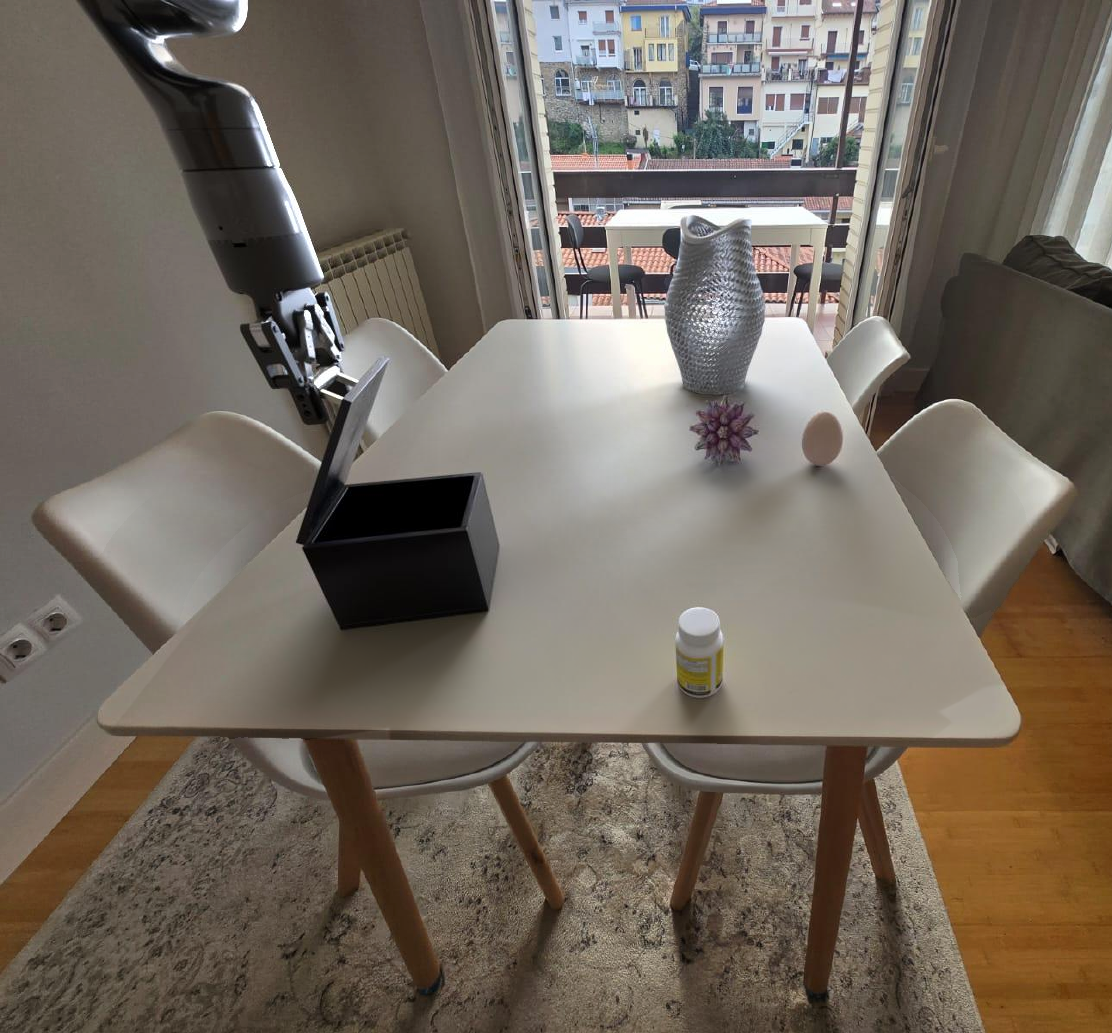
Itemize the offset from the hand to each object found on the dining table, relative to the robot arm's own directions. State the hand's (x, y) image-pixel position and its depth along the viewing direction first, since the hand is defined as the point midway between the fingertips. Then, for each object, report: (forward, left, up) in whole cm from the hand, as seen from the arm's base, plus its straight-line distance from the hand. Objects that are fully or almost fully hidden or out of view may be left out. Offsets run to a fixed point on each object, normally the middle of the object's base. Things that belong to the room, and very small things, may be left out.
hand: (329, 409), depth 58 cm
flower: (+26, -49, -24) cm, 60 cm away
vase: (+65, -56, -24) cm, 89 cm away
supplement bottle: (-22, -35, -24) cm, 48 cm away
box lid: (0, 0, -4) cm, 4 cm away
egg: (+21, -65, -24) cm, 72 cm away
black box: (0, -4, -24) cm, 24 cm away
